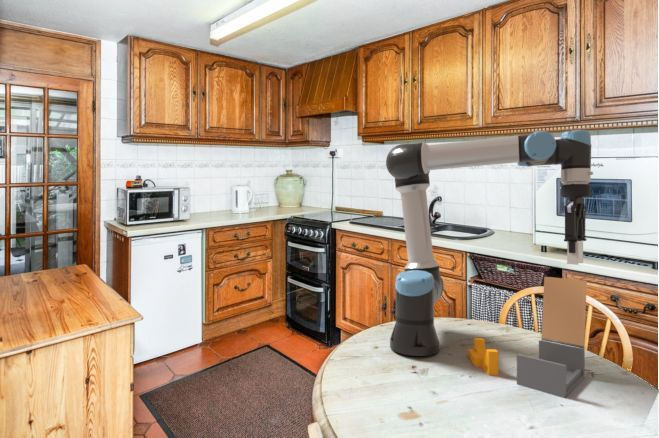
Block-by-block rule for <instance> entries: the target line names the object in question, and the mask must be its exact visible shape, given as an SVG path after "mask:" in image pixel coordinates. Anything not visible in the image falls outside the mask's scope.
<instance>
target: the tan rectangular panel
mask: <svg viewBox="0 0 659 438" xmlns="http://www.w3.org/2000/svg"><path fill="white" fill-rule="evenodd" d="M587 282H588V280H583V279H573V278H561V277H552V276H544V279H543V297H542V298H543V300H542V317H541V318H542V320H541V321H542V322H541V339H540V340H542V341H547V342H552V343H557V344H562V345H567V346H572V347H576V348H581V349H585V340H586V339H585V337H586V335H585V334H586V333H585V331H586V310H587V287H588V285H587V284H588V283H587Z"/></svg>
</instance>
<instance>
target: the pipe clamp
mask: <svg viewBox="0 0 659 438" xmlns="http://www.w3.org/2000/svg"><path fill="white" fill-rule="evenodd" d="M467 358H469V360H470V362H471V363H472V365H473V366H474V367H481V368H482V369H483V372H485V373H486V374H487V376H499V350H498V349H495V348H494V349H493V348H492V349H491V348H488V349H487V348H486V341H485V339H484V338H483V337H473V348H467Z"/></svg>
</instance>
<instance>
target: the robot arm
mask: <svg viewBox="0 0 659 438" xmlns="http://www.w3.org/2000/svg"><path fill="white" fill-rule="evenodd" d="M385 159H386V160H385V166H386V169H387V171H388V173H389V174H390V175H391V176H392V177H393V178H394V184H395V190H396V191H397V192H398V193H400V198H401V206H402V215H403V224H404V225H403V226H404V235H405V244H406V245H405V246H406V252H407V253H406V254H407V263H406V265H405V266H404V271H402V272H400V273H398V274H397V275H396V276H395V282H394V283H395V284H394V286H395V323H394V326H393V329H392V332H391V335H390V339H389V347H390V349H391V350H392V351H393V352H395V353H397V354H398V353H399V354H402V355H406V356H413V357H414V356H417V357H424V356H433V355H436V354H437V353H439V352H440V349H441V348H440V345H441V343H440V340H439V336H438V334H437V331H436V328H435V323H434V322H435V320H434V319H435V311H434V310H435V308H434V307H435V303H437V302H438V301H439V300H440V298H441V297H442V295H443V293H444V286H445V285H444V281H443V278H442V276H441V271H440V265H439V263H437V261H436V260H435V258H434V250H433V242H432V232H431V223H430V217H429V214H430V213H429V205H428V198H427V189H428V188H429V187H430V185H431V184H430V171H434V170H435V171H436V170H437V171H438V170H446V169H447V170H448V169H455V168H456V169H457V168H458V169H459V168H469V167H471V168H472V167H478V166H479V167H481V166H482V167H483V166H492V165H493V166H494V165H503V164H513V163H514V164H517V165H518V166H519V167H535V166H551V165H552V166H554V165H555V166H557V165H560V183H561V184H562V185H561V186H560V197H561V198H563V199H565V198H566V199H568V200H567V203H566V204H565V205H564V206H563V208H564V210H563V211H564V239H563V241H564V242H566V243H567V246H566V247H567V248H566V250H567V251H566V252H567V254H566V256H567V257H566V264H567V265H575V266H579V264H583V263H584V242H586V241H587V238H586V214H587V205H585V203H584V198H590V197H591V196H592V194H591V193H592V187H591V186H592V185H591V184H590V183H591V182H592V179H591V176H593V174H594V171H591V169H592V168H591V167H592V140H591V132H589V130H586V129H575V130H567V131H564V132H562V133H561V135H560V138H558V139H557V138H556V139H555V136H554V135H553V134H552V133H551V132H548V131H546V130H537V131H533V132H532V133H529V134H522V135H521V134H520V135H511V136H502V137H501V136H500V137H493V138H486V139H485V138H484V139H483V138H482V139H474V140H467V141H466V140H464V141H457V142H448V143H446V142H445V143H437V144H427V143H426V142H424V141H423V142H416V143H415V142H414V143H401V144H398V145H396V146H393V148H392V149H390V150H389V152H388V154H387V156H386V158H385Z"/></svg>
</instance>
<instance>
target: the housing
mask: <svg viewBox="0 0 659 438" xmlns="http://www.w3.org/2000/svg"><path fill="white" fill-rule="evenodd" d="M585 355H586V351H585V348H579V347H574V346H569V345H564V344H559V343H554V342H549V341H544V340H541V339H539V340H538V358H537V357H533V356H530V355H525V354H521V353H518V354H516V385H519V386H521V387H525V388H529V389H533V390H535V391H539V392H544V393H547V394H551V395H554V396H557V397H561V398H567V397H568V395H569V394H570V393H572V391H573V390H574V389H575V388H576V387H577V386H578V385H579V384H580V383H581V382H582V381H583V380H584V379H585V373H586V372H585V371H586V367H585V361H586V360H585V359H586V357H585Z"/></svg>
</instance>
